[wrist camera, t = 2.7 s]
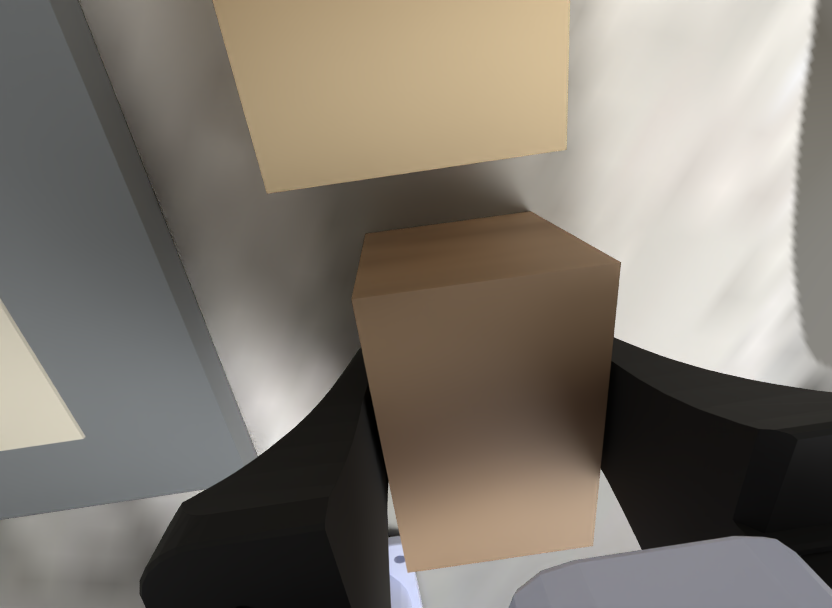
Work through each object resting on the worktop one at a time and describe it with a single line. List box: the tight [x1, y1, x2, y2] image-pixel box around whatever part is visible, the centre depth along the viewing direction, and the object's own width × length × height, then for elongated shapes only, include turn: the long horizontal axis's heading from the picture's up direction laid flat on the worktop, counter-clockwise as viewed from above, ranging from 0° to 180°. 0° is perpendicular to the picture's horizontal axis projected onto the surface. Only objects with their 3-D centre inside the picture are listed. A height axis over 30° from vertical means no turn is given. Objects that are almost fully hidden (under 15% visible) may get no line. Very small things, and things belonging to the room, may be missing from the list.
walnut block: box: [351, 211, 621, 573], centre depth 11 cm, size 8×5×5 cm, turn 7°
